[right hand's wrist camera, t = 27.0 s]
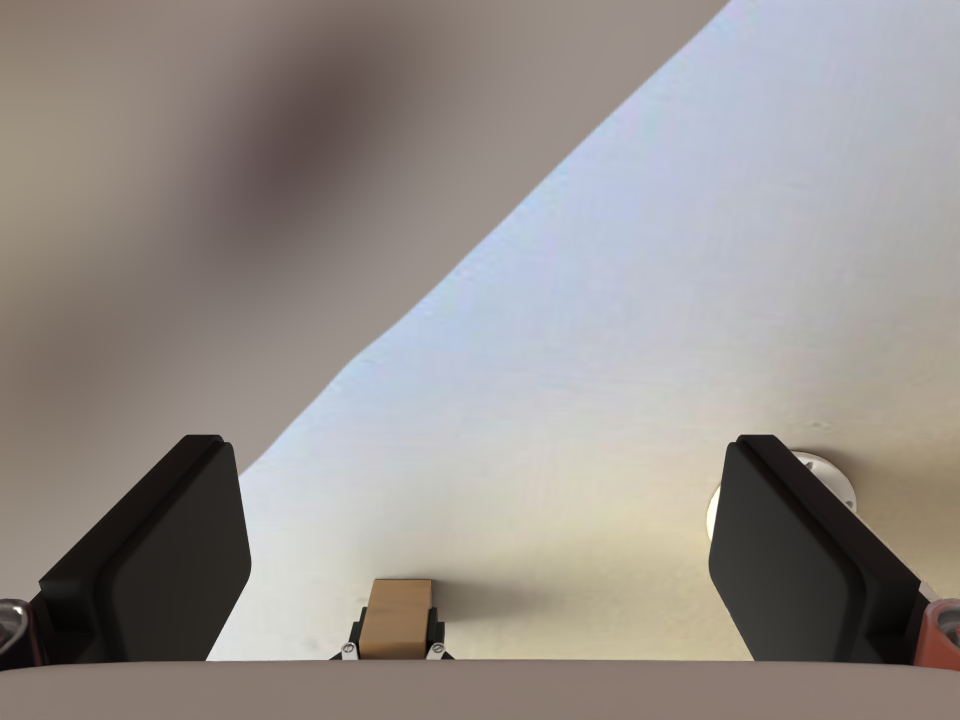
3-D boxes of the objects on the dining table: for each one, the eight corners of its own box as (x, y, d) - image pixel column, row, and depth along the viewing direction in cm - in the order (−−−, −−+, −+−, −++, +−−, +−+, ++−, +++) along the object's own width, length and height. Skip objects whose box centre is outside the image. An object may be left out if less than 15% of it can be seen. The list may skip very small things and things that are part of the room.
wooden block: (432, 624, 57) (426, 691, 50) (377, 624, 57) (363, 691, 50) (431, 579, 55) (424, 641, 48) (373, 579, 55) (358, 641, 48)
